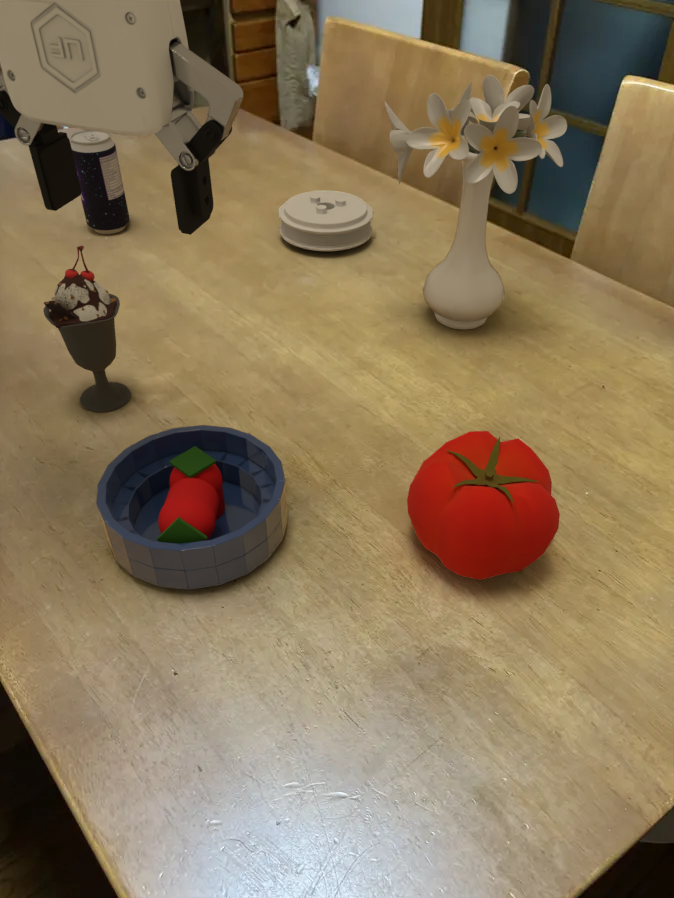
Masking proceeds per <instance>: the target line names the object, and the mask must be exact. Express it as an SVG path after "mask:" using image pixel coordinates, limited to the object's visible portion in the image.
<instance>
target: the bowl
mask: <svg viewBox="0 0 674 898" xmlns="http://www.w3.org/2000/svg"><path fill="white" fill-rule="evenodd" d="M194 446H196V447H197V448H199V449H200V450H202V451H203V452H205V453H206V454H208V455H209V456H210V457H212V458H213V459H215V460H216V463H215V465H216V466H217V467H218V468H219V470H220V472H221V475H222V480H223V484H222V489H223V496H224V503H225V509H224V512H223V514H222V515H221V516H220V517H219V518H218V519H217V520H215V521H216V522H215V528H214V531H213V533H212V535H211V537H210V538H209V539H208V540H206V541H198V542H191V543H183V544H177V543H166V542H159V541H157V538H158V537H159V536H160V535H161V532H160V529H159V524H158V520H159V514H160V511H161V509H162V507H163V505H164V504H165V501H166V498H167V495H168V492H169V490H170V475H171V472H172V470H173V468H174V466H172V465H171V464H170V462H169V461H170V460H172V459H173V458H175V457H177V456H179V455H180V454H182V453H184V452H186V451H187V450H189V449H191V448H193V447H194ZM287 499H288V498H287V485H286V476H285V472H284V468H283V463H282V461H281V459H280V458H279V457H278V455H277V454H276V453H275V451H274V450H273V449H272V447H271V446H270V445H268V444H266V443H265V442H264V441H262V440H261V439H259V438H257V437H256V436H254V435H252V433H248V432H245V431H241V430H239V429H237V428H233V427H228V426H220V425H219V426H218V425H205V424H202V425H201V424H198V425H191V426H179V427H173V428H170V429H166V430H163V431H160V432H157V433H153V434H150V435H148V436H146V437H143V438H142V439H141V440H138V441H136V442H135V443H133V444H131V445H129V446H127V447H126V448H124V449H123V450H122V451H121V452H120V453H119V454H118V455H117V456H116V457H115V458H114V459H112V461H111V462H109V464H108V465H107V466H106V468H105V470H104V471H103V473H102V475H101V477H100V479H99V480H98V483H97V487H96V501H95V505H96V508H97V512H98V515H99V518H100V521H101V524H102V528H103V531H104V535H105V538H106V541H107V543H108V546H109V548H110V550H111V553H112V555H113V558H114V559H115V562H116V563H117V564H118V565H119V566H120V567H122V568H123V569H124V570H125V571H126V572H127V573H129V574H130V575H131V576H132V577H133V578H135V579H138V580H140V581H143V582H145V583H148V584H151V585H154V586H156V587H159V588H166V589H167V588H168V589H177V590H186V591H188V590H196V589H197V590H198V589H203V588H211V587H216V586H221V585H224V584H226V583H229V582H232V581H234V580H237V579H239V578H242V577H244V576H246V575H249V574H250V573H251V572H253V571H254V570H255V569H257V568H258V567H260V566H261V565H262V564H263V563H265V562H266V561H268V560H269V559H270V558H271V556H272V555H273V554H274V552H275V551H276V549H277V548H278V547H279V545H280V544H281V543H282V541H283V539H284V537H285V533H286V529H287V524H288V520H289V517H288V514H289V513H288V501H287Z"/></svg>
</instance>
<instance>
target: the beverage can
mask: <svg viewBox="0 0 674 898" xmlns="http://www.w3.org/2000/svg"><path fill="white" fill-rule="evenodd" d="M69 140H70V144H71V148H72V152H73V157H74V161H75V165H76V170H77V174H78V178H79V183H80V187H81V195H80V196H79V197H80V200H81V205H82V209H83V213H84V217H85V221H86V225H87V226H88V227H89V228H90V229H92V230H93V231H95V233H98V234H101V235H112V234H117V233H120V232H122V231H124V230H125V229H126V227H127V226H128V224H129V223H130V220H131V217H130V213H129V208H128V202H127V198H126V192H125V188H124V182H123V178H122V171H121V168H120V167H121V166H120V162H119V157H118V151H117V147H116V143H115V142H114V140H113V139H112V136H111V133H104V132H97V131H90V130H84V129H81V130H79V131H75V132H73V133H72V134H71V135H70V136H69Z"/></svg>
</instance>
